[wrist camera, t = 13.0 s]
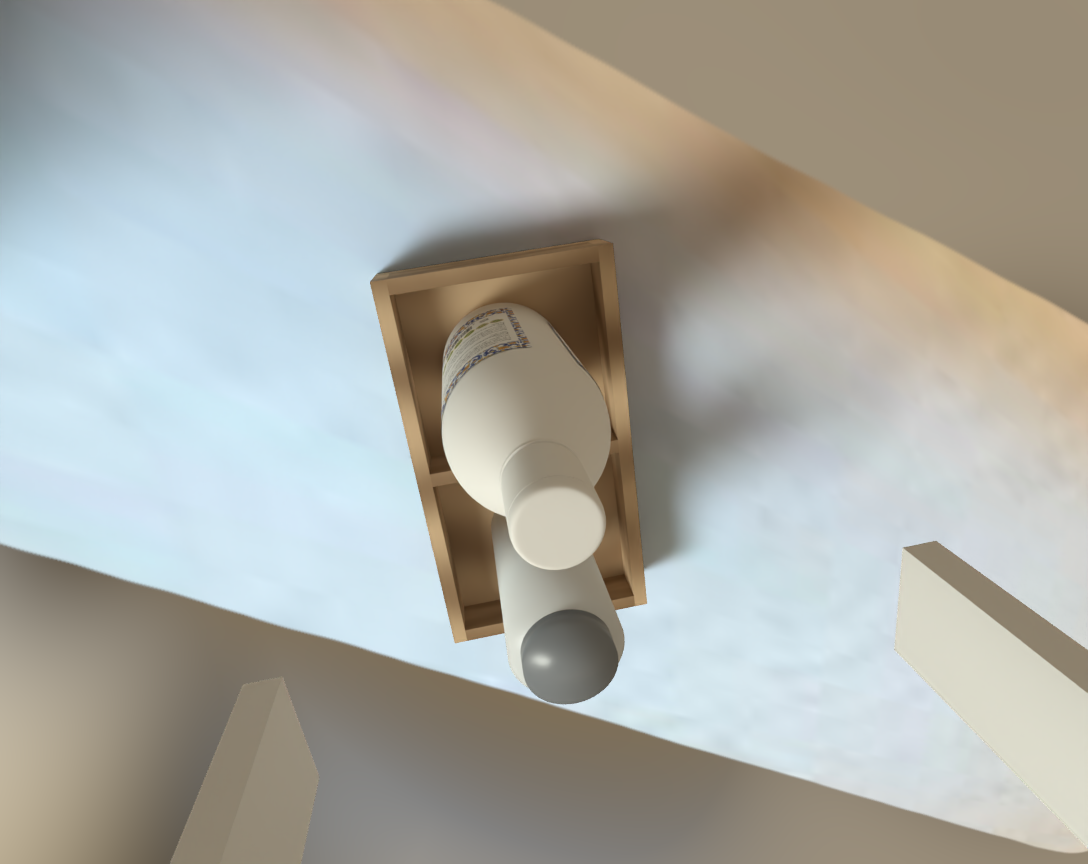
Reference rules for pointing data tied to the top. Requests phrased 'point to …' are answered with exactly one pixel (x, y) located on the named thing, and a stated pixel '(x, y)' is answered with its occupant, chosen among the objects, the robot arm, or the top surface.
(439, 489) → the caddy
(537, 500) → the bath foam
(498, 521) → the white and grey cylinder
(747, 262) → the top surface
